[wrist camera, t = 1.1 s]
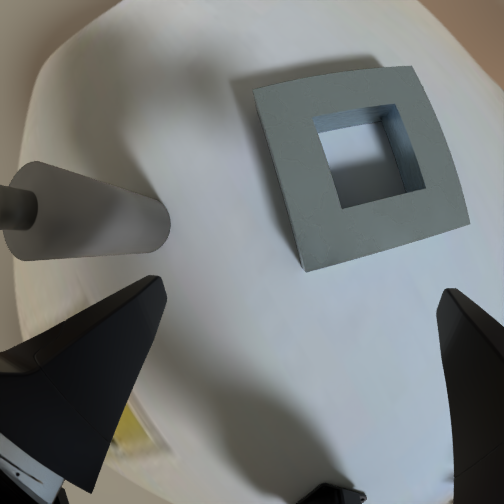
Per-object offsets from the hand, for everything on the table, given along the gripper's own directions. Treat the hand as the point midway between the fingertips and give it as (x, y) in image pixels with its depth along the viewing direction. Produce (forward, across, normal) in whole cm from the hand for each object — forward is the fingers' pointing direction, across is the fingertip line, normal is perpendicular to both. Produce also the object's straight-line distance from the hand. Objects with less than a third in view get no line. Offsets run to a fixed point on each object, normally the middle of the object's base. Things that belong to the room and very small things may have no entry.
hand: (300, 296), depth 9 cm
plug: (+12, +13, +4) cm, 18 cm away
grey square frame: (+16, -4, 0) cm, 16 cm away
